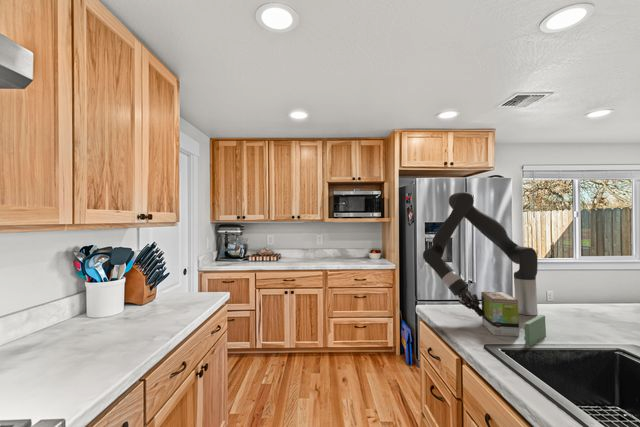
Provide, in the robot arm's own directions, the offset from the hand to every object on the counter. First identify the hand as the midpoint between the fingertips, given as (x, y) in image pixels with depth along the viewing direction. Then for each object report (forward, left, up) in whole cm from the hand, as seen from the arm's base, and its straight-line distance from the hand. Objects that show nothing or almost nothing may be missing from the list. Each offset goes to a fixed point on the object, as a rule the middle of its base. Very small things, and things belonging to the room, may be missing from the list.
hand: (482, 315), depth 133 cm
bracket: (0, +20, -5) cm, 21 cm away
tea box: (-2, +6, -5) cm, 8 cm away
